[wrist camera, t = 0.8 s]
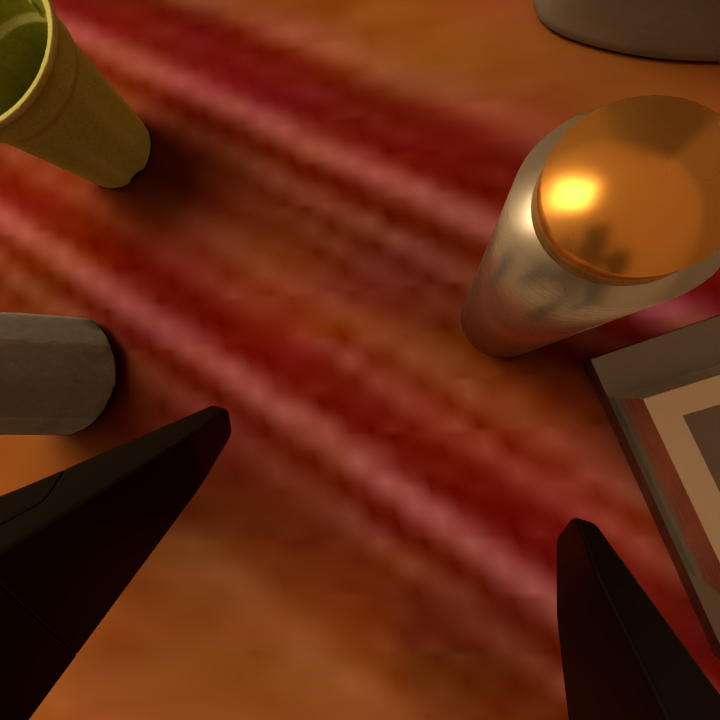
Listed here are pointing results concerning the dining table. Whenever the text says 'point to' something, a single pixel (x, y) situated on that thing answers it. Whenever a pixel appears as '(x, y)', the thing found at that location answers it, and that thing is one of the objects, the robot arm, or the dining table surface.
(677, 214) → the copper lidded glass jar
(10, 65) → the plant pot
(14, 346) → the moka pot
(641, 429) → the dock
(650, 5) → the flask
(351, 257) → the dining table surface
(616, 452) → the dining table surface
